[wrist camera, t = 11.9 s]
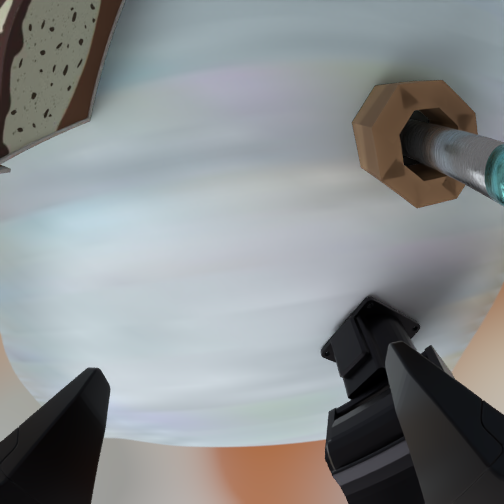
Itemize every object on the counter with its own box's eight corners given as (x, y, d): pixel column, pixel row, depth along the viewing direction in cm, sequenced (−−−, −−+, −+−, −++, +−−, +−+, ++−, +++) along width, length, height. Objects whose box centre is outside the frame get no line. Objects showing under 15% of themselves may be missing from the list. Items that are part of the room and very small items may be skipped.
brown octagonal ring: (463, 127, 18) (494, 134, 14) (414, 206, 20) (438, 225, 17) (390, 61, 16) (415, 56, 13) (334, 149, 19) (350, 160, 16)
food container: (64, -30, 12) (-26, -69, 3) (139, -32, 13) (65, -99, 4) (19, 129, 17) (-84, 164, 8) (85, 142, 18) (-18, 185, 9)
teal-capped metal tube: (426, 133, 18) (548, 176, 8) (409, 161, 19) (522, 225, 9) (400, 111, 17) (523, 136, 8) (382, 140, 18) (494, 190, 8)
